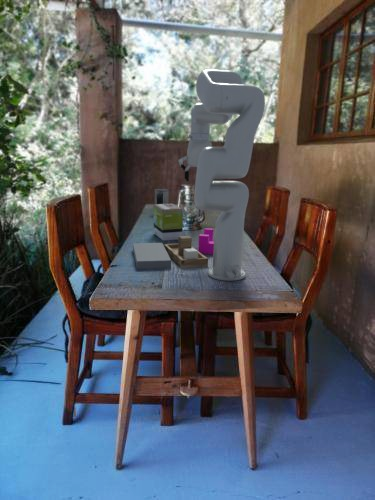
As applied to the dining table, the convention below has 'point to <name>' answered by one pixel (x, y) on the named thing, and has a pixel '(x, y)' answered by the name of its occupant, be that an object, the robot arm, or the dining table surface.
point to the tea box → (167, 221)
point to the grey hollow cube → (161, 196)
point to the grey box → (190, 253)
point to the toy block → (206, 242)
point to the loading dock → (151, 256)
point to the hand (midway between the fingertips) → (198, 181)
